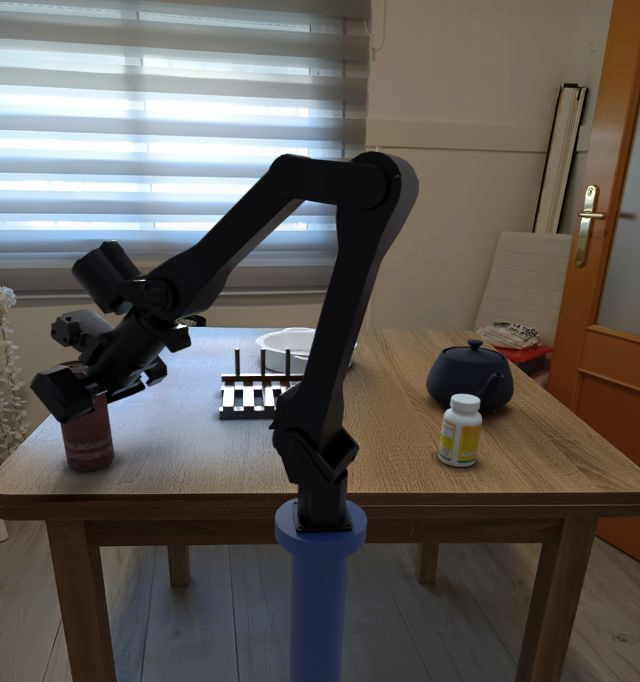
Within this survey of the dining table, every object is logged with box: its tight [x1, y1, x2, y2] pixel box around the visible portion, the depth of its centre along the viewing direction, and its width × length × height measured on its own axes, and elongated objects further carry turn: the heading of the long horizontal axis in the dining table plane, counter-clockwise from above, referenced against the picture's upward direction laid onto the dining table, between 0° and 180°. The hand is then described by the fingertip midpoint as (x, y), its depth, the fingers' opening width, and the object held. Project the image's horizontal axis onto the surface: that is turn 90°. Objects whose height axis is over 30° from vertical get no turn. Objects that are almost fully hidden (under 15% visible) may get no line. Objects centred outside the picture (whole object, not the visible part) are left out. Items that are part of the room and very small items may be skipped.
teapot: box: [425, 338, 515, 415], centre depth 103 cm, size 25×16×12 cm, turn 5°
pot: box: [255, 327, 358, 374], centre depth 128 cm, size 29×22×5 cm
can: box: [51, 359, 115, 472], centre depth 76 cm, size 6×6×14 cm
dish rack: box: [218, 347, 304, 420], centre depth 101 cm, size 14×20×9 cm
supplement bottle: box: [438, 394, 483, 468], centre depth 82 cm, size 5×5×10 cm
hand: (76, 413), depth 77 cm, fingers closed on can, 5 cm apart
